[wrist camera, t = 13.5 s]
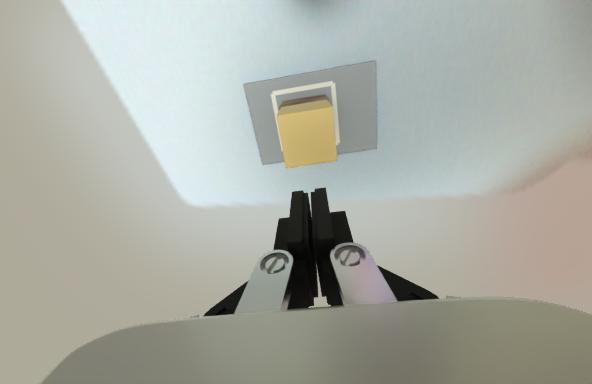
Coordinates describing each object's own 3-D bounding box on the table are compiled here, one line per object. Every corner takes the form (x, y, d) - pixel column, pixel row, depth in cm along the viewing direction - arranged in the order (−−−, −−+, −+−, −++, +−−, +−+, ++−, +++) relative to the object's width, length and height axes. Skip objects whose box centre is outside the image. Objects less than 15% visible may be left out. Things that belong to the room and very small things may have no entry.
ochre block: (327, 99, 28) (332, 106, 23) (331, 144, 31) (337, 160, 26) (281, 107, 29) (276, 116, 24) (289, 150, 31) (286, 168, 26)
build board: (374, 60, 33) (376, 60, 32) (375, 146, 38) (377, 148, 37) (244, 84, 34) (243, 84, 33) (263, 162, 40) (262, 165, 39)
